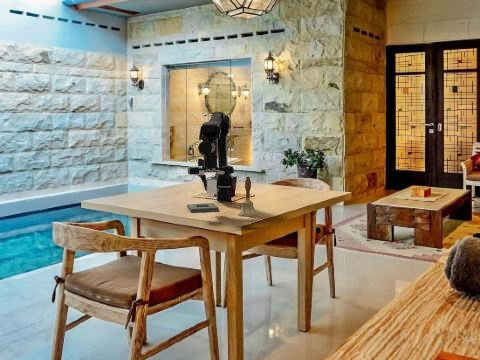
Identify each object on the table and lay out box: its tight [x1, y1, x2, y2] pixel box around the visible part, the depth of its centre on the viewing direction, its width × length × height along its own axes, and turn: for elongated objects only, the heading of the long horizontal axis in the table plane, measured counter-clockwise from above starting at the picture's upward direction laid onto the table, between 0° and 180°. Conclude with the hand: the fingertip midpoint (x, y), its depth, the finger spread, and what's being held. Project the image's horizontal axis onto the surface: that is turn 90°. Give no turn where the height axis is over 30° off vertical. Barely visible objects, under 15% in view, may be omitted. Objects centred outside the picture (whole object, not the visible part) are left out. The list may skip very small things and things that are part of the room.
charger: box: [204, 178, 217, 195], centre depth 218 cm, size 4×4×6 cm
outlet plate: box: [186, 202, 220, 213], centre depth 229 cm, size 12×12×2 cm
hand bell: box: [237, 176, 258, 217], centre depth 215 cm, size 8×8×16 cm
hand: (211, 190), depth 218 cm, fingers closed on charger, 4 cm apart
